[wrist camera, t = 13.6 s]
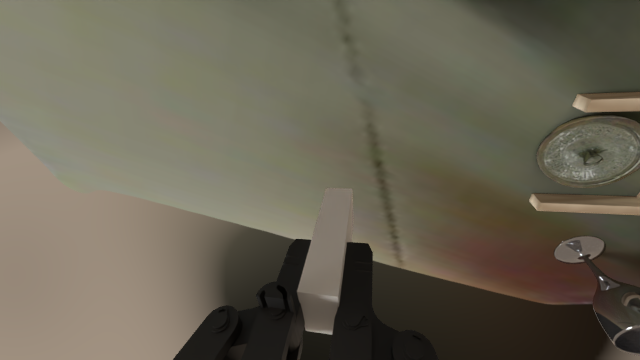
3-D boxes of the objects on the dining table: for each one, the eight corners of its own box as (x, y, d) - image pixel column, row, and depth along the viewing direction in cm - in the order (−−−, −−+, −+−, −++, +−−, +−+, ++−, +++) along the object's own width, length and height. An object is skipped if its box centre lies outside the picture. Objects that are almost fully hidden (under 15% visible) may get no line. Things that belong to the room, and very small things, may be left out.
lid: (601, 179, 37) (629, 199, 33) (524, 177, 39) (542, 197, 35) (644, 108, 32) (684, 122, 28) (552, 110, 34) (576, 124, 29)
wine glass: (540, 253, 47) (599, 340, 34) (583, 227, 42) (668, 316, 30) (575, 271, 47) (645, 362, 35) (621, 246, 43) (719, 341, 30)
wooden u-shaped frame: (577, 94, 32) (591, 99, 30) (732, 88, 29) (759, 94, 27) (529, 200, 41) (537, 210, 39) (642, 204, 38) (657, 215, 36)
